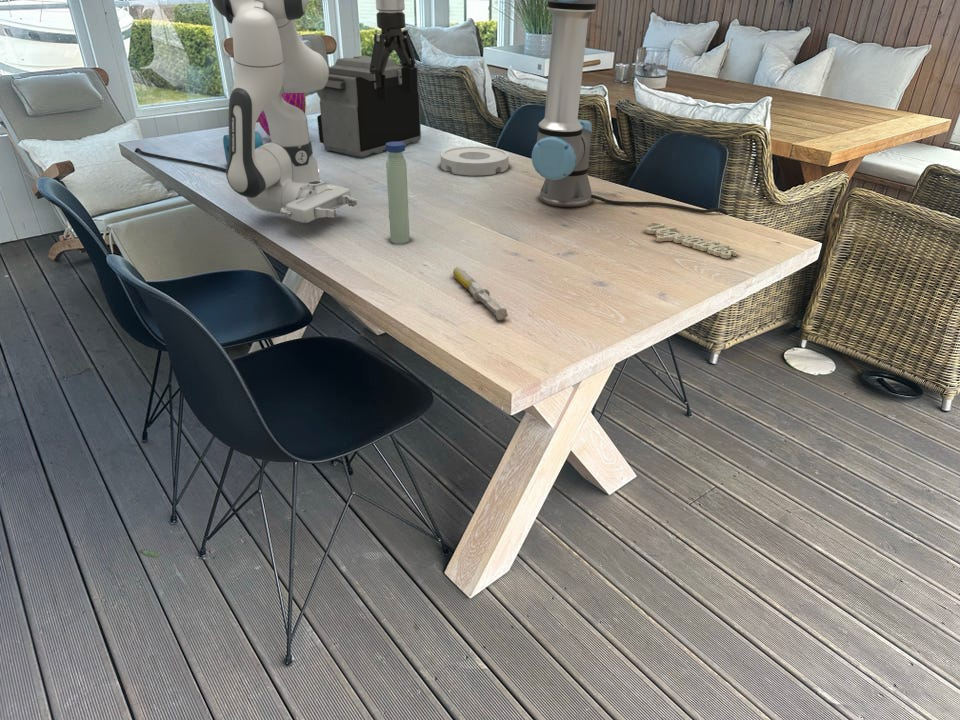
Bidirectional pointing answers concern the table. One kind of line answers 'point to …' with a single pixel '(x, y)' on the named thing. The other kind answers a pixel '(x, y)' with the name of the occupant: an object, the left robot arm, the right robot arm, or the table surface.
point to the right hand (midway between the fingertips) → (394, 96)
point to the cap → (395, 147)
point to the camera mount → (226, 143)
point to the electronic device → (367, 108)
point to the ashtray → (474, 160)
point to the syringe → (479, 293)
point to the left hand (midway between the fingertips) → (345, 208)
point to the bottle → (397, 198)
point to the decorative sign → (689, 240)
